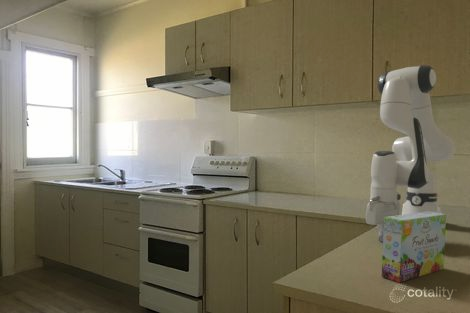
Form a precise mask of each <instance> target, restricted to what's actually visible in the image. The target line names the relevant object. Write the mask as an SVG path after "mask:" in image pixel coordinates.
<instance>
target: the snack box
mask: <svg viewBox="0 0 470 313" xmlns="http://www.w3.org/2000/svg"><path fill="white" fill-rule="evenodd" d="M446 222H447V214H446V213H442V212H441V213H436V212H420V213H412V214H404V215H402V214H399V215H396V216H389V217H384V234H383V243H382V256H381V257H382V258H381V259H382V260H381V277H382V278H385V279H387V280H390V281H394V282H396V283H402V282H406V281H409V280H413V279H415V278H419V277H422V276H425V275H429V274H432V273H435V272H438V271H441V270H444V268H445V251H446V250H445V248H446V247H445V246H446V243H445V242H446V229H447V228H446V227H447V226H446V225H447V223H446Z"/></svg>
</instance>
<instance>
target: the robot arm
mask: <svg viewBox="0 0 470 313" xmlns="http://www.w3.org/2000/svg"><path fill="white" fill-rule="evenodd" d="M436 83H437V74H436V72H435V69H434V68H433V67H432V66H430V65H425V64H424V65H423V64H421V65H419V66H418V65H417V66H408V67H403V68H399V69H394V70H390V71H386V72H383V73H381V74H380V76H379V77H378V79H377V89H378V92H379V94H380V95H381V99H380V108H379V116H380V117H379V118H380V121H381V122H382V124H384V125H385V126H386V127H388V128H389V129H392V130H394V131H397V132H399V133H402V134H405V135H407V136H402V137H397V139H395V140H394V142H393V143H392V147H391V150H379V151H375V152H374V153H373V154H372V158H371V166H370V177H371V178H370V179H371V183H370V190H369V191H370V195H369V196H370V198H369V200H370V201H369V202H368V203H367V205H366V212H365V222H366V224H367V225H374V226H376V227H377V229H378V231H377V233H378V234H377V235H379V232H380V231H381V232H384V217H389V216H396V215H400V206H401V205H400V204H401V203H400V201H401V199H402V194H400V193H399V192H398V190H397V189H398V188H397V187H401V188H403V187H405V188H407V191H406V194H405V199H406V201H405V202H404V203H403V204H402V212H401V215H404V214H412V213H420V212H436V213H442V210H441V208H440V206H439V204H438V197H439V196H438V193H436V187H437V186H436V185H437V182H436V181H437V180H436V175H435V174H434V172H432V171H431V170H430V169H429V168H428V164H427V162H442V161H443V162H444V161H448V160H451V158H453V156H454V155H455V152H456V145H455V141H454V140H453V138H451V137H449V136H448V135H446V134H444V133H443V131H441V130H440V128H439V127H438V126H437V123H436V122H435V119H434V115H433V108H432V101H431V96H430V91H431V92H432V90H433V89H434V87H436V86H435V85H436ZM447 223H448V222H447V221H446V224H447Z"/></svg>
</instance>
